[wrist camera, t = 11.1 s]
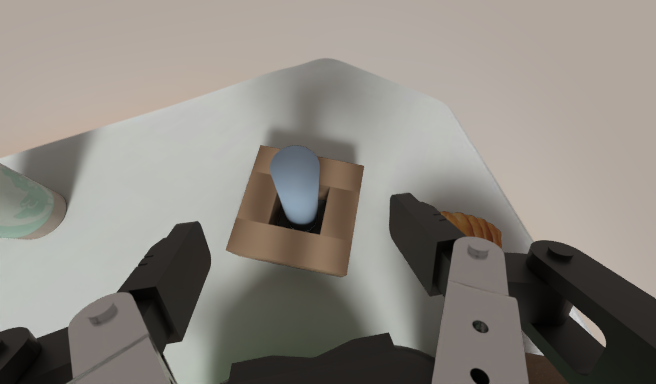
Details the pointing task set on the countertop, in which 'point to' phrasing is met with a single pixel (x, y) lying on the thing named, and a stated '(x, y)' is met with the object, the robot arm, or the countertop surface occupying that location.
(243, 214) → the socket block
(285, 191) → the dowel
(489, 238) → the pastry
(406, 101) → the countertop surface
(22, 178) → the coffee cup
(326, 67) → the countertop surface
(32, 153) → the countertop surface
